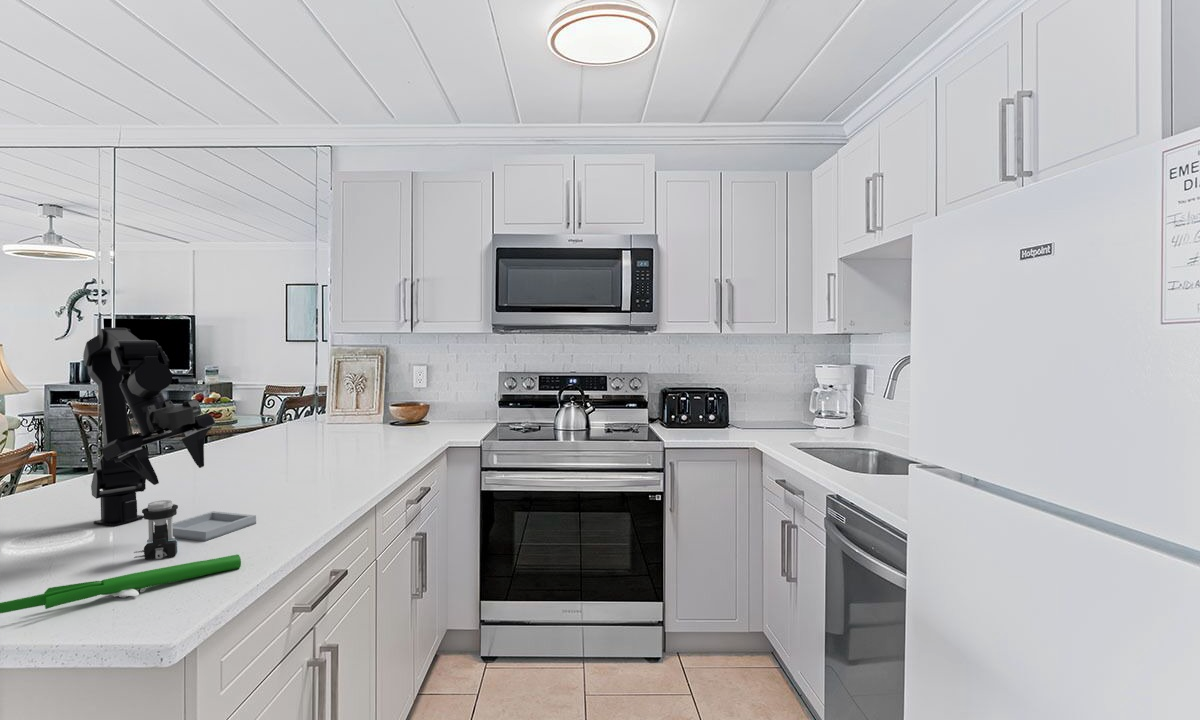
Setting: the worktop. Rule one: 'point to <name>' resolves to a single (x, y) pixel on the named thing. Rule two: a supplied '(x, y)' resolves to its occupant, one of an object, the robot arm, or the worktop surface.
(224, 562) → the green onion
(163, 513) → the push button
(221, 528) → the tray
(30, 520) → the worktop surface
